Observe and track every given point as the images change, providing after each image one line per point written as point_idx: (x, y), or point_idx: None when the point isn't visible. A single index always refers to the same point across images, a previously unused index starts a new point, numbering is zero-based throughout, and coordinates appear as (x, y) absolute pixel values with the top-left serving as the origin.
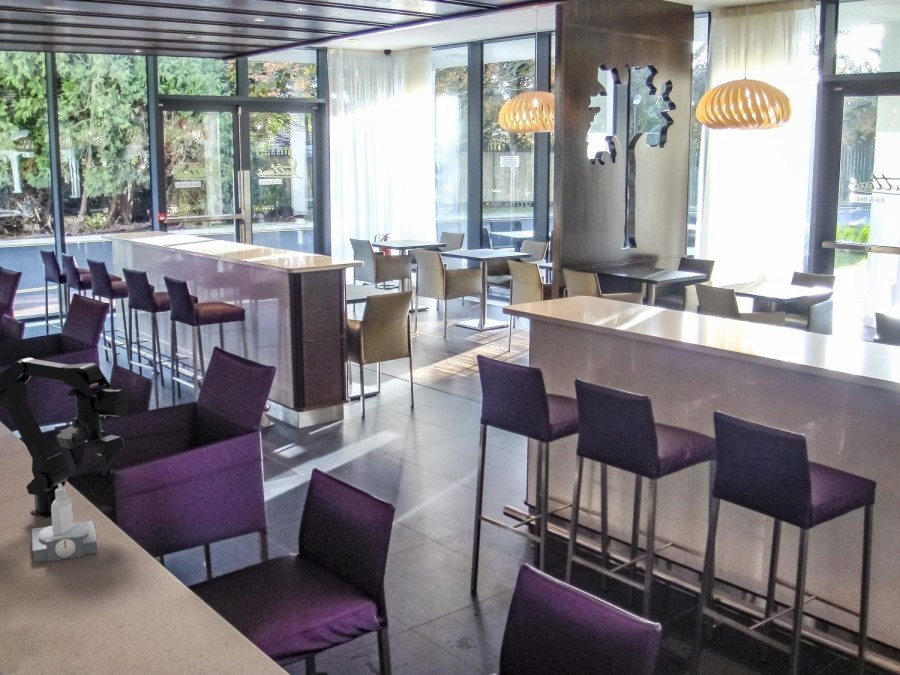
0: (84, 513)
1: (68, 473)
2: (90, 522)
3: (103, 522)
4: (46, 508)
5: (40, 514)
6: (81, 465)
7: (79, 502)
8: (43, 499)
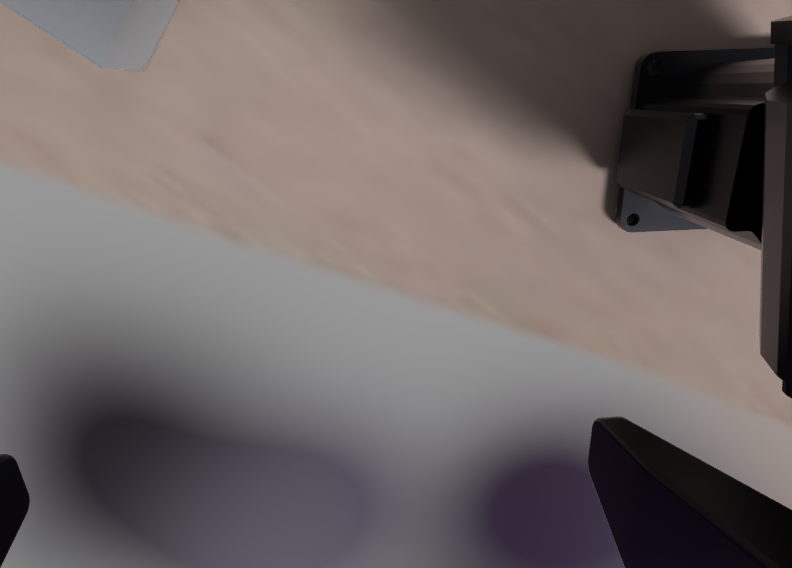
0: (475, 256)
1: (784, 374)
2: (70, 25)
3: (244, 224)
4: (698, 87)
5: (706, 50)
6: (601, 494)
7: (640, 350)
8: (770, 72)
